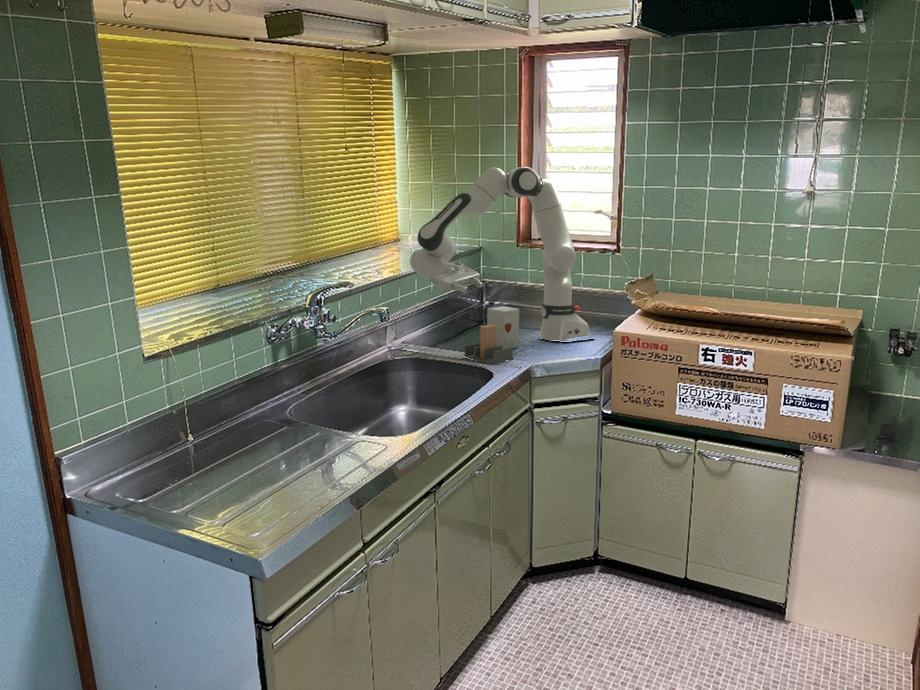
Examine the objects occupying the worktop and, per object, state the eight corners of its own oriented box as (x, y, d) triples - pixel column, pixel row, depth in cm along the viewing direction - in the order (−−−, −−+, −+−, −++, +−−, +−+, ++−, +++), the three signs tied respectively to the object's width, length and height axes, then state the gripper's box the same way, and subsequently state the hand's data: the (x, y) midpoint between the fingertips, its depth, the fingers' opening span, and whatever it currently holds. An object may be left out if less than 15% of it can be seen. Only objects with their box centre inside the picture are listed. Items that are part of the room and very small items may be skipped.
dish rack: (483, 353, 273) (483, 341, 272) (513, 359, 263) (513, 347, 262) (463, 358, 265) (463, 346, 264) (493, 364, 255) (493, 352, 254)
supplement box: (502, 350, 278) (503, 311, 275) (486, 346, 285) (486, 308, 281) (519, 347, 284) (520, 308, 281) (503, 343, 290) (503, 305, 287)
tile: (491, 354, 267) (491, 324, 265) (496, 355, 265) (496, 325, 263) (480, 357, 263) (480, 326, 260) (485, 358, 261) (485, 327, 259)
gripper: (428, 270, 267) (457, 285, 260) (463, 262, 282) (491, 275, 275) (425, 286, 270) (454, 301, 263) (460, 277, 285) (488, 290, 278)
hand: (473, 287), depth 269 cm, fingers open, 8 cm apart
